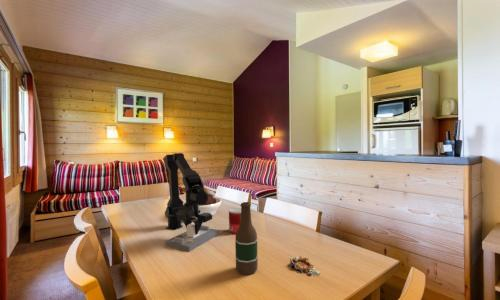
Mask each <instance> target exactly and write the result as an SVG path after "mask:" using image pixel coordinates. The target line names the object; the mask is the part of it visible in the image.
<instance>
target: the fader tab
mask: <svg viewBox="0 0 500 300" xmlns="http://www.w3.org/2000/svg"><path fill="white" fill-rule="evenodd" d="M186 231H187V236H188V237H193V238H194V237H196V236H198V235H199V232H198V234H197V235H196V234H195V224H194V222H192V223H191V224H189V225H187V229H186Z"/></svg>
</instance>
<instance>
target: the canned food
mask: <svg viewBox="0 0 500 300" xmlns="http://www.w3.org/2000/svg"><path fill="white" fill-rule="evenodd" d="M240 223H241V208H230V209H229V210H228V226H229V227H228V229H229V230H228V231H229V233H230V234H234V235H236V232H237V230H238V228H239V227H240Z"/></svg>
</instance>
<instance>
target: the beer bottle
mask: <svg viewBox="0 0 500 300" xmlns="http://www.w3.org/2000/svg"><path fill="white" fill-rule="evenodd" d="M251 206H252V204H251V202H249V201H245V202H244V201H243V202H240V209H241V223H240V227H239V228H238V230H237V232H236V234H235V236H234V237H235V240H234V241H235V242H234V243H235V248H234V249H235V271H237V272H238V273H239V275H244V276H250V275H253V274H255V273H256V271H257V270H258V263H259V262H258V261H259V260H258V233H257V231H256V228H255V226H254V225H253V222H252V213H251V211H252V209H251Z"/></svg>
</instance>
